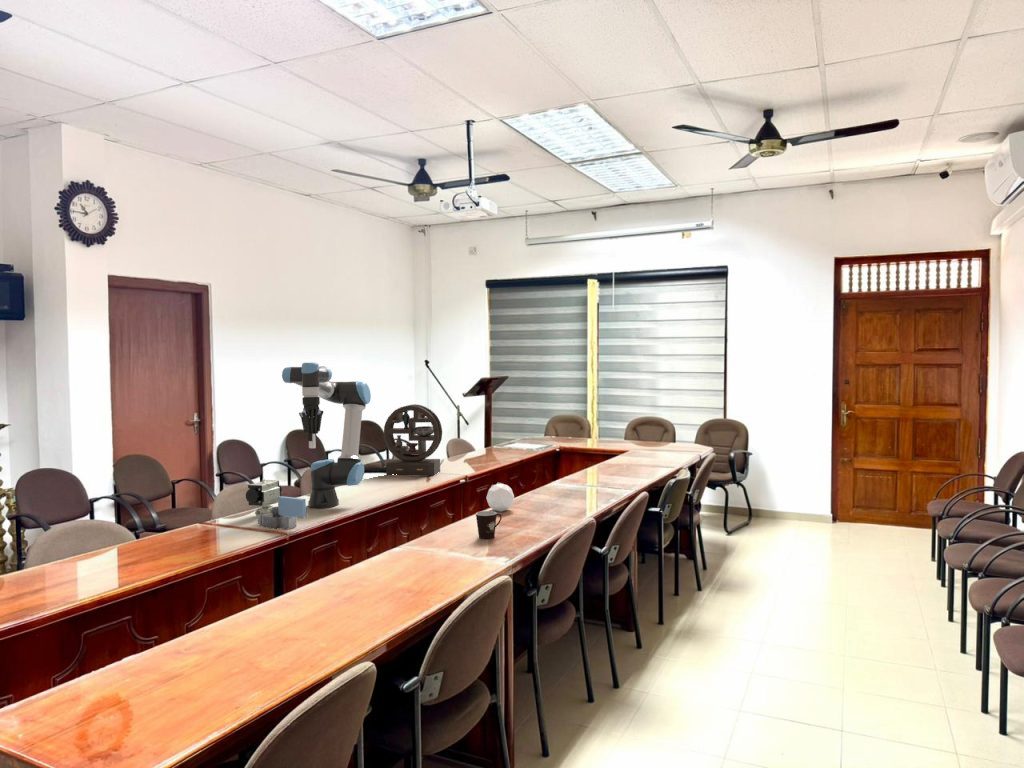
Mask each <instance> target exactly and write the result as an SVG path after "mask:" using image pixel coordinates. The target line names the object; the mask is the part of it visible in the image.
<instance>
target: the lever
mask: <svg viewBox="0 0 1024 768" xmlns="http://www.w3.org/2000/svg"><path fill="white" fill-rule="evenodd" d="M306 502H307V501H306V498H301V497H291V496H283V495H281V496H280V497H278V501H277V503H278V504H277V506H273V507H272V515H285V516H293V517H296V518H301V519H304V518H307V510H306V507H307V503H306Z"/></svg>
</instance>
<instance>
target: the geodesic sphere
mask: <svg viewBox="0 0 1024 768" xmlns="http://www.w3.org/2000/svg"><path fill="white" fill-rule="evenodd" d="M514 499H515V495H514V493H513V489H512V488H511V487H510V486H509V485H508V484H504V483H502V482H497V483H496V484H491V486H490V487H489V489H488V491H487V495H486V502H487V504H488V506H489V507H490V508H491V509H492V511H495V512H496V511H497V512H500V513H501V512H505V511H507V510H509V509H510V508H511V506H512V505H513V503H514Z"/></svg>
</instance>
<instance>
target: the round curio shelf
mask: <svg viewBox="0 0 1024 768" xmlns="http://www.w3.org/2000/svg"><path fill="white" fill-rule="evenodd" d="M409 411H413V413H412V414H413V417H412V416H410V414H409ZM402 422H403V424H404V427H394V425H395V424H400V423H402ZM417 423H431V426H429V425H427V426H426V425H425V426H424V425H423V426H416V424H417ZM402 434H404V435H405V434H408V441H409V443H405V445H403V441H402ZM394 435H396V438H397V439H396V441H395V437H394ZM383 439H384V442H385V445H386V447H387V449H388V451H389V452H390V453H391V454H392V455H393V456H394V457H395V458H393V459H390V460H388V461H386V462H385V471H386V472H385V473H386V474H385V475H386V476H387V477H389V476H388V475H392V474H394V475H396V474H397V475H435V474H436V475H438V474H439V473H441V459H440V458H429V457H430V456H432V455H433V454H434V453H435V451H437V449H438V448H439V446H440V444H441V442H442V439H443V427H442V423H441V421H440V419H439V417H438V415H437V414H436V413H435V412H434V411H433V410H432V409H430V408H428V407H427V406H424V405H421V404H415V403H414V404H409V405H404V406H401V407H398V408H397V409H395V410H393V412H391V413H390V415H389V416H388V417H387V418H386V421H385V424H384V426H383ZM410 441H411V442H410ZM427 441H429V442H430V441H431V442H432V443H431V444H430V446H429V447H428V449H427ZM416 447H417V449H416ZM438 472H439V473H438ZM437 473H438V474H437ZM436 475H435V476H436Z"/></svg>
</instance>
